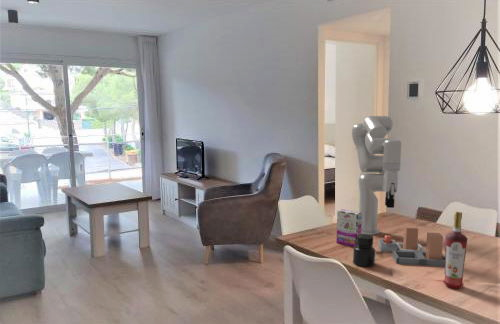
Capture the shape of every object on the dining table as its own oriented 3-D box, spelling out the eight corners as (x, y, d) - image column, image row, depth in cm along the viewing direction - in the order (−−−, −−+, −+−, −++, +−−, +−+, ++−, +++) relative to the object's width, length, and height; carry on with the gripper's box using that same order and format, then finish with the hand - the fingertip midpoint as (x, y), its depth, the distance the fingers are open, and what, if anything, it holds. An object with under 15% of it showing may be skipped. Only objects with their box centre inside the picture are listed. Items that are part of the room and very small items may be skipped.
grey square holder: (380, 252, 194) (381, 243, 194) (378, 248, 201) (378, 238, 201) (396, 253, 193) (397, 244, 193) (393, 248, 200) (394, 239, 200)
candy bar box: (361, 245, 204) (363, 212, 202) (356, 248, 201) (357, 214, 199) (341, 240, 212) (342, 208, 210) (335, 243, 208) (337, 210, 206)
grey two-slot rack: (396, 265, 178) (397, 258, 178) (392, 257, 188) (392, 250, 188) (449, 268, 175) (449, 260, 175) (441, 260, 185) (442, 253, 185)
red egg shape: (384, 246, 196) (385, 236, 195) (383, 244, 199) (384, 235, 198) (391, 246, 195) (392, 237, 195) (390, 244, 198) (390, 235, 198)
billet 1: (405, 253, 194) (406, 227, 192) (402, 250, 199) (404, 225, 197) (416, 254, 193) (418, 228, 192) (414, 250, 198) (415, 225, 196)
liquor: (442, 288, 155) (447, 213, 152) (441, 281, 162) (446, 209, 159) (465, 291, 153) (470, 215, 149) (462, 284, 160) (468, 211, 156)
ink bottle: (379, 265, 179) (381, 237, 177) (365, 269, 174) (366, 240, 172) (362, 258, 187) (363, 231, 185) (347, 262, 182) (348, 235, 180)
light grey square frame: (399, 255, 191) (400, 249, 191) (395, 247, 202) (395, 242, 202) (425, 256, 190) (425, 251, 189) (419, 248, 200) (419, 243, 200)
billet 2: (428, 263, 179) (430, 235, 177) (425, 259, 184) (427, 232, 182) (441, 264, 178) (442, 236, 177) (437, 259, 183) (439, 233, 182)
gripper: (380, 164, 201) (378, 202, 203) (386, 169, 185) (384, 210, 187) (396, 164, 200) (394, 203, 202) (403, 169, 184) (401, 211, 186)
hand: (389, 206), depth 195 cm, fingers open, 3 cm apart
